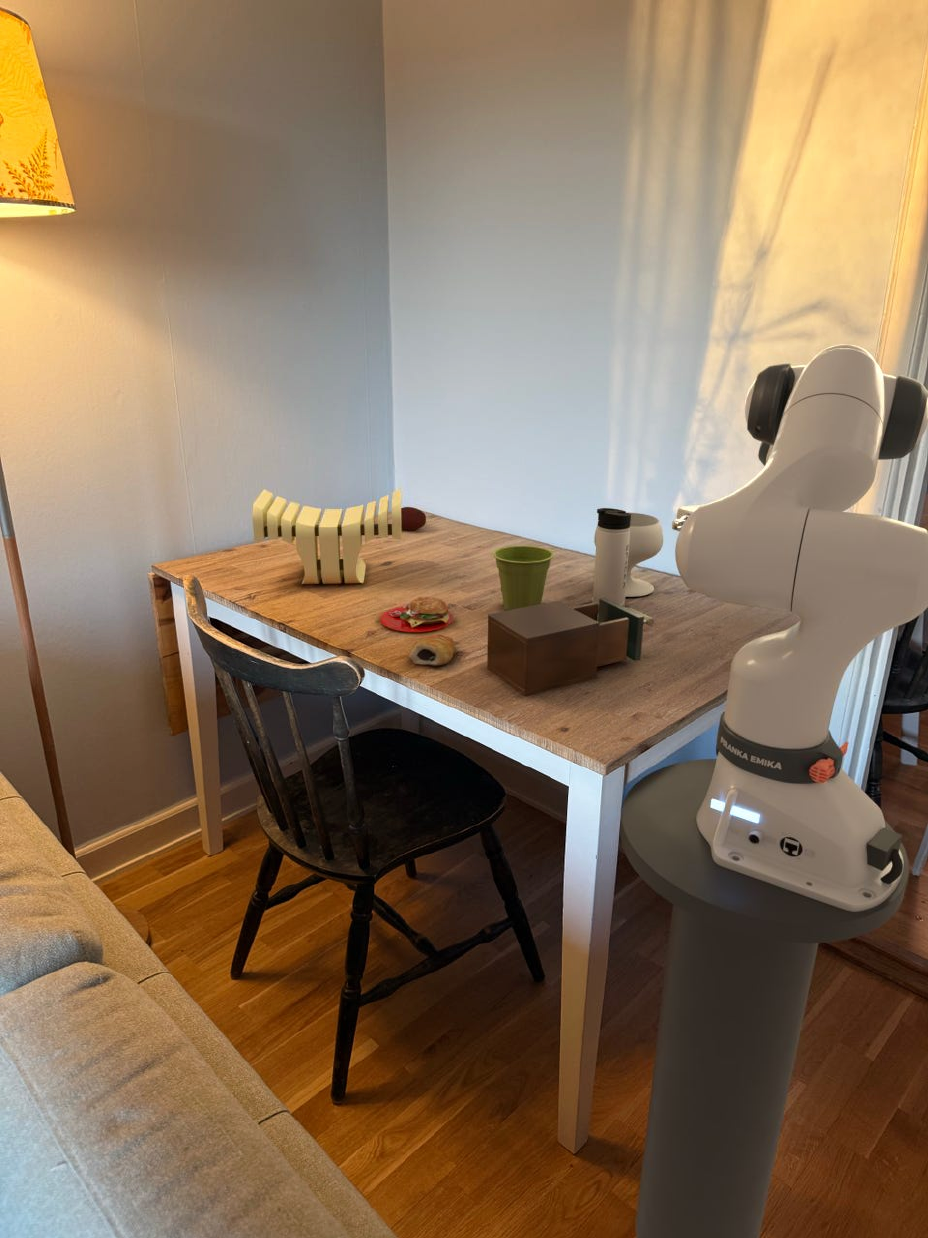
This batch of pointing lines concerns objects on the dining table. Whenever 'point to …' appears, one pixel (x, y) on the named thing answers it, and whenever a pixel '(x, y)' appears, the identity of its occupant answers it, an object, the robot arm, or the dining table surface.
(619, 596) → the travel mug
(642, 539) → the chalice
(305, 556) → the slatted curved stool
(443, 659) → the pastry
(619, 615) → the drawer
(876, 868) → the robot arm
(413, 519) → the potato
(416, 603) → the hamburger
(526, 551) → the plant pot
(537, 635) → the cabinet
